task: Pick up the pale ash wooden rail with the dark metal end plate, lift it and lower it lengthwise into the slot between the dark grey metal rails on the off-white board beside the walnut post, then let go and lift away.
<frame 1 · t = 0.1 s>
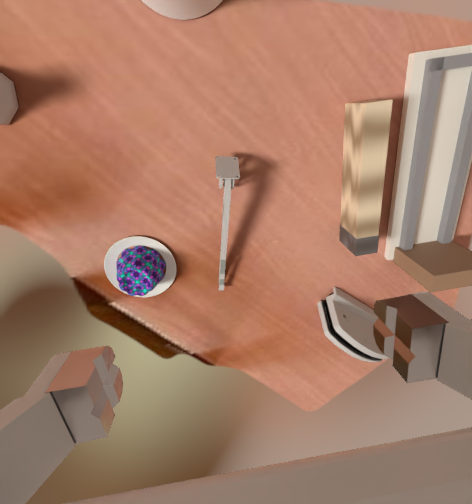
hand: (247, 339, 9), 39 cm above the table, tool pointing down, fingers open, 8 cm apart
pudding: (142, 265, 51), on the table
bed rail: (352, 177, 47), on the table
slot board: (430, 165, 48), on the table
bracket: (222, 226, 49), on the table
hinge: (348, 315, 61), on the table
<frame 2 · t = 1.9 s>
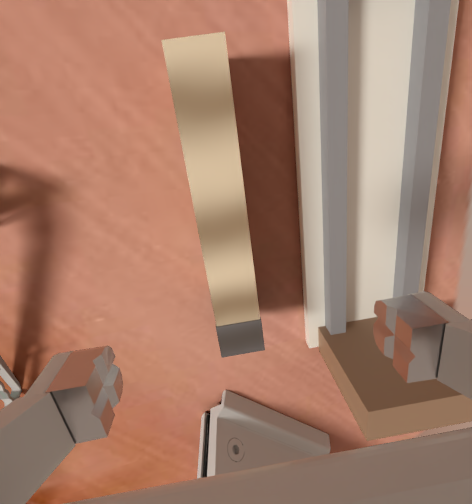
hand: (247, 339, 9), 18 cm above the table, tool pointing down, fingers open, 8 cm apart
bed rail: (219, 207, 26), on the table
slot board: (363, 185, 26), on the table
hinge: (261, 430, 37), on the table
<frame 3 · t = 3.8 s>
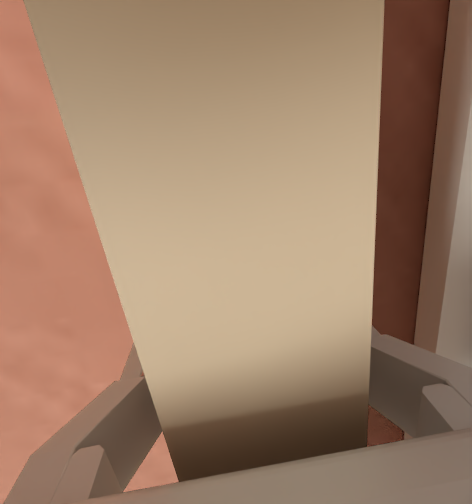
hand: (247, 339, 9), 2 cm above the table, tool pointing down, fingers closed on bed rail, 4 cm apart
bed rail: (240, 303, 11), on the table, touching gripper
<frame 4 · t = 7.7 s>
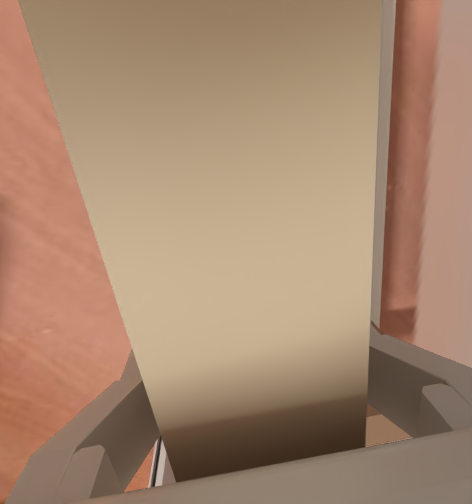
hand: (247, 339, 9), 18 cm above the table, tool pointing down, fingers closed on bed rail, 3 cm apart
bed rail: (239, 305, 11), point 15 cm above the table, touching gripper
slot board: (312, 191, 25), on the table
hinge: (221, 441, 36), on the table
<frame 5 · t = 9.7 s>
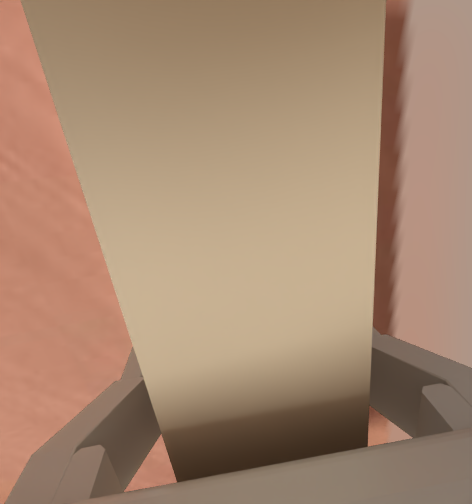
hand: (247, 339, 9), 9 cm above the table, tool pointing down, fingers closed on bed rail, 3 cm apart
bed rail: (240, 305, 11), point 7 cm above the table, touching gripper
when the fingers open (4 cm above the table, at t = 11.2 s): bed rail stays where it is, resting on slot board.
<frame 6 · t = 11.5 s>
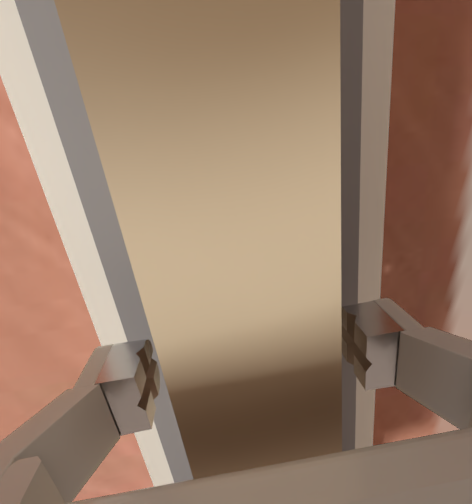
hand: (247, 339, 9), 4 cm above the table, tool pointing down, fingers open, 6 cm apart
bed rail: (237, 292, 12), point 1 cm above the table, touching slot board
slot board: (236, 278, 13), on the table
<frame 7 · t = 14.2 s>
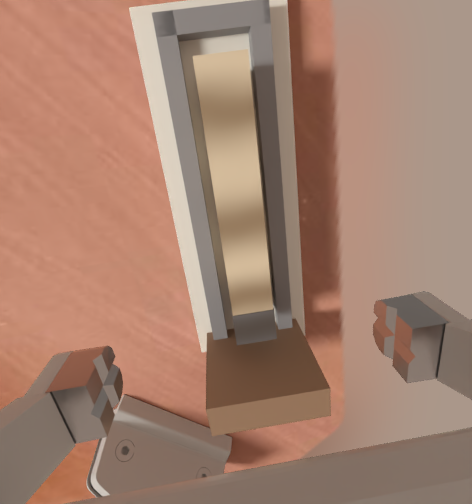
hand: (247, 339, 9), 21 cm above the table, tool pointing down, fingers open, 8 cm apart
bed rail: (235, 206, 28), point 1 cm above the table, touching slot board
slot board: (234, 203, 29), on the table
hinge: (166, 433, 39), on the table
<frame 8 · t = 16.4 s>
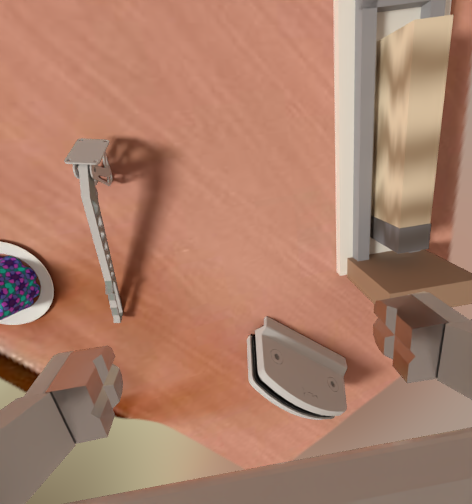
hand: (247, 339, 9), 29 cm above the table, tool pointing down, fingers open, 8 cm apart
pudding: (8, 281, 38), on the table
bed rail: (387, 148, 35), point 1 cm above the table, touching slot board
slot board: (382, 147, 36), on the table
bracket: (112, 236, 37), on the table
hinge: (292, 354, 47), on the table
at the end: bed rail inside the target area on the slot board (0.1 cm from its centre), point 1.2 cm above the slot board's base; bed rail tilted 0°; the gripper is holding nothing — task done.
